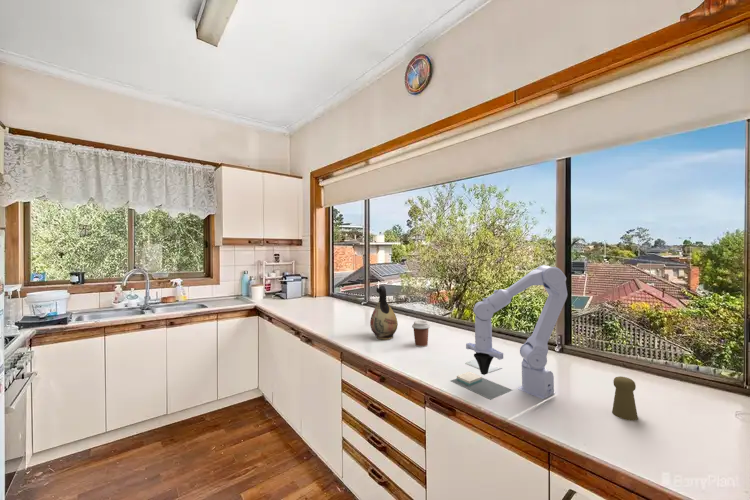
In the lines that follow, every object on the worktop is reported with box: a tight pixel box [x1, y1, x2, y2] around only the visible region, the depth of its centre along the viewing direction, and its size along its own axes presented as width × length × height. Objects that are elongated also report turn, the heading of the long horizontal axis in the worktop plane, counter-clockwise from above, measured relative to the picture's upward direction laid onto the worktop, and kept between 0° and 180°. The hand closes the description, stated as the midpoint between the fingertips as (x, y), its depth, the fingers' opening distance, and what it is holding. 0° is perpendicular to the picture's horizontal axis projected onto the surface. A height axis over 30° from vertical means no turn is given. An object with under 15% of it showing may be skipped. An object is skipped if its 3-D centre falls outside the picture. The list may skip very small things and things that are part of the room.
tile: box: [456, 371, 483, 386], centre depth 119 cm, size 2×7×6 cm
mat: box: [450, 377, 513, 401], centre depth 115 cm, size 18×12×1 cm, turn 33°
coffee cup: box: [411, 320, 431, 348], centre depth 164 cm, size 9×9×12 cm
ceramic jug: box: [369, 285, 398, 341], centre depth 178 cm, size 17×15×30 cm
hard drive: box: [464, 359, 503, 374], centre depth 133 cm, size 2×8×12 cm
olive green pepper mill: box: [611, 376, 639, 422], centre depth 94 cm, size 6×6×11 cm
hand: (484, 373), depth 113 cm, fingers closed
